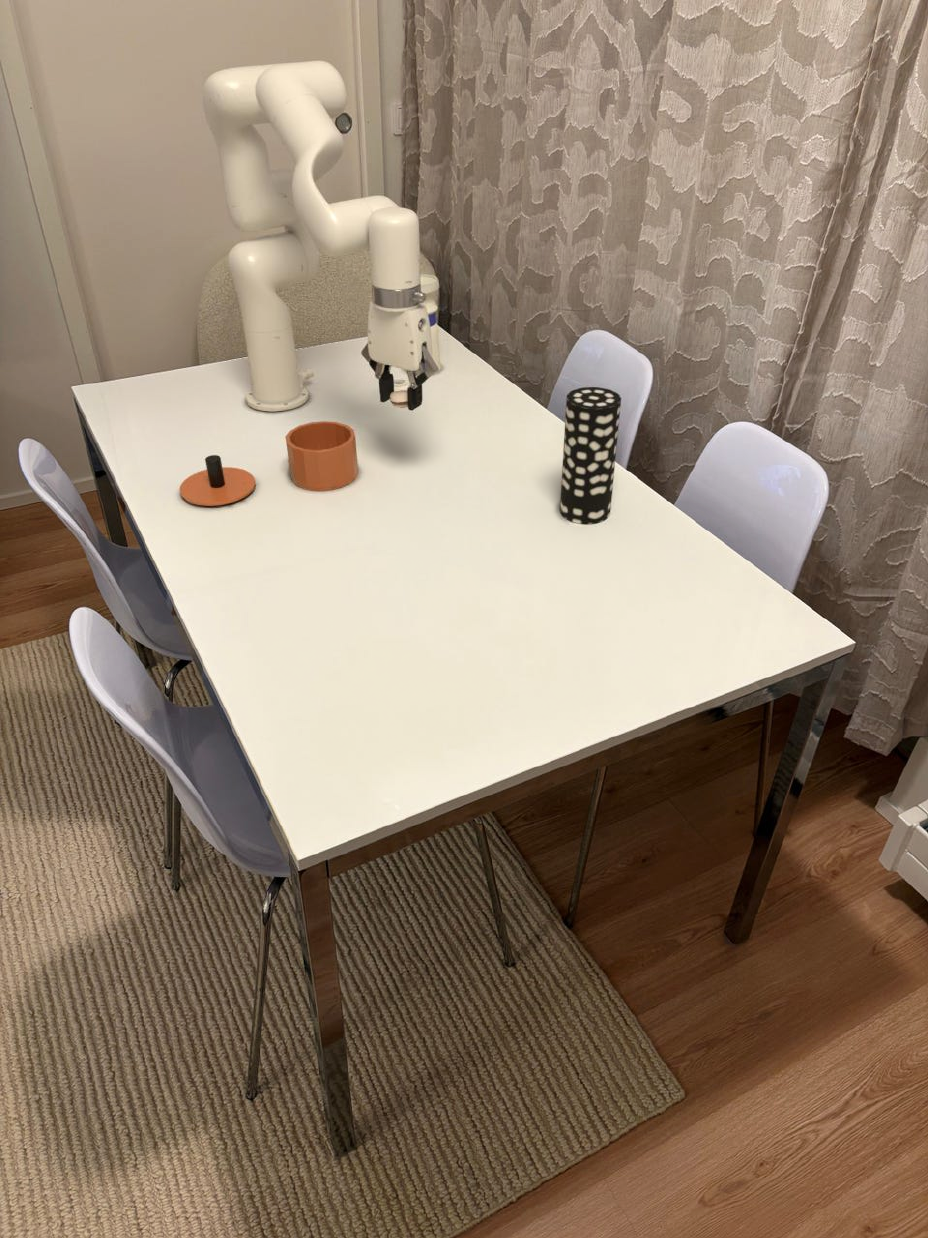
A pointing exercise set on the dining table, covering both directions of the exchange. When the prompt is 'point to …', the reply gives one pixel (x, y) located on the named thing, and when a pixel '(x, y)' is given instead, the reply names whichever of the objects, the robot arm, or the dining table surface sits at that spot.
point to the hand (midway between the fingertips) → (401, 402)
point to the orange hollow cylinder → (322, 455)
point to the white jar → (400, 385)
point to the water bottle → (431, 313)
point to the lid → (217, 484)
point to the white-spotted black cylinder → (589, 454)
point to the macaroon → (399, 399)
